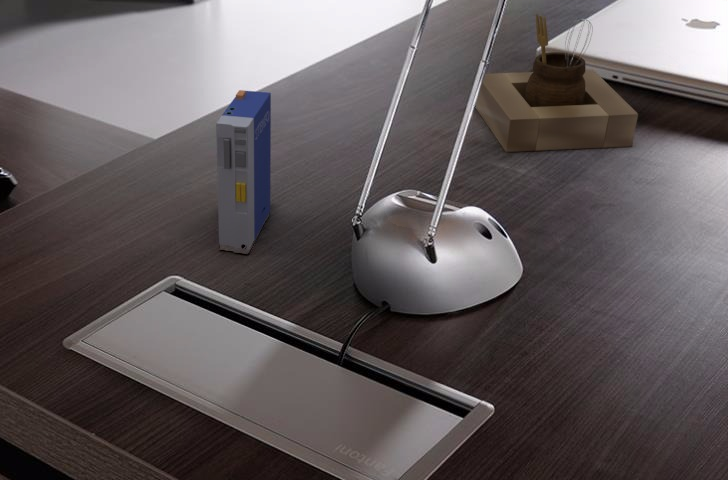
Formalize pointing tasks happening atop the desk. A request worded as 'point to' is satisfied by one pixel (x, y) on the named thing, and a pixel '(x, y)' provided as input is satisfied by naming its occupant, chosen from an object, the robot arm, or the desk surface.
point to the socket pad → (555, 116)
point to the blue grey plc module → (243, 168)
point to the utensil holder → (556, 74)
